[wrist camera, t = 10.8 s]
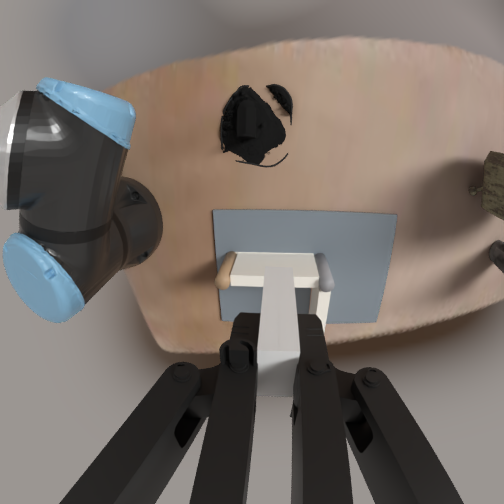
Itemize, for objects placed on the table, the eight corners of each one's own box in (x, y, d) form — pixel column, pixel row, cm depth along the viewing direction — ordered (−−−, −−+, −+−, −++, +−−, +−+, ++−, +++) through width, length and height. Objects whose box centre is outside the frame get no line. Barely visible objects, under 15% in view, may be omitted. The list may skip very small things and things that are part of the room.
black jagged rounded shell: (290, 168, 38) (291, 171, 34) (221, 165, 39) (214, 169, 34) (293, 87, 33) (294, 80, 29) (223, 86, 34) (215, 79, 30)
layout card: (222, 319, 49) (221, 321, 48) (213, 209, 41) (212, 210, 40) (375, 320, 46) (376, 322, 46) (396, 214, 38) (397, 215, 38)
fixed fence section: (226, 261, 44) (214, 289, 36) (225, 250, 43) (213, 276, 35) (324, 263, 43) (333, 292, 35) (325, 251, 42) (335, 278, 34)
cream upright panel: (313, 267, 42) (318, 290, 36) (324, 267, 42) (331, 291, 36) (307, 324, 47) (309, 351, 40) (317, 324, 46) (321, 351, 40)
